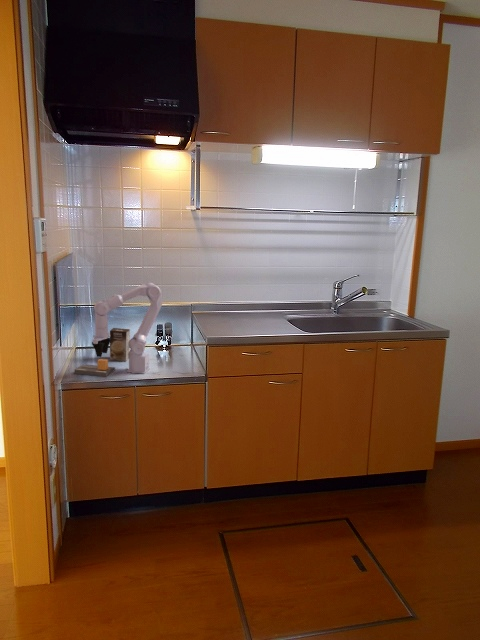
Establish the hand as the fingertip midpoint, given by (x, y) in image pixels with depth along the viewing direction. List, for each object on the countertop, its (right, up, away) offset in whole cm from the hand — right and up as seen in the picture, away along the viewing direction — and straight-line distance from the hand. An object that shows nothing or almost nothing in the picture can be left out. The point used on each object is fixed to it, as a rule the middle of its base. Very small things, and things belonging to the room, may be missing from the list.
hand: (101, 354), depth 240 cm
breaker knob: (0, -7, +1) cm, 7 cm away
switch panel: (-5, -9, +3) cm, 10 cm away
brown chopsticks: (-3, -8, +9) cm, 12 cm away
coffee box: (+2, -4, +25) cm, 26 cm away
